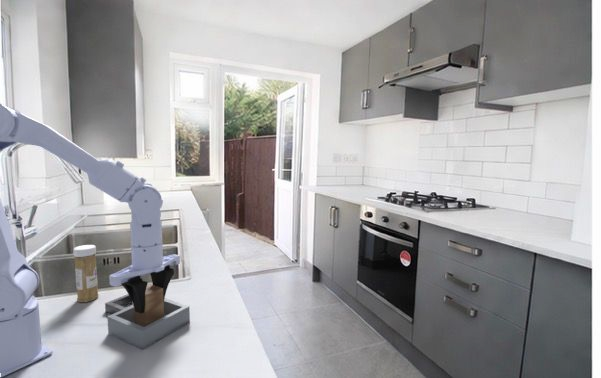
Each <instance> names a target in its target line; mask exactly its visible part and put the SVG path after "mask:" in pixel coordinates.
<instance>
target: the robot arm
mask: <svg viewBox="0 0 601 378" xmlns="http://www.w3.org/2000/svg"><path fill="white" fill-rule="evenodd" d="M18 143H19V144H25V145H31V146H37V147H40V148H42V149H44V150H46V151H48V152H49V153H51V154H52V155H54V156H57V157H58V158H59V159H62V160H63V161H65V162H66V163H68V164H71V166H73V167H75V168H77V169H79V170H80V171H82V172H84V173H86V174H87V176H88V177H87V178H88V182H89V183H88V184H90V185H91V186H93V187H95V188H97V189H98V190H100V191H101V192H103V193H105V194H106V195H108V196H110V197H111V198H113V199H114V200H116V201H118V202H120V203H127V204H128V208H129V209H130V211H131V212H130V213H131V214H130V215H131V221H130V223H129V228H130V247H131V248H130V252H131V255H130V256H131V265H129V266H127V267H125V268H123V269H121V270H119V271H117V272H115V273H112V274H110V275H109V277H108V278H109V280H108V281H109V286H112V287H115V288H118V287H120V286H122V287H123V288H124V289H125V291H126V292H127V294H129V296H130V298H131V300H132V302H131V303H132V305H133V306H134V309H135V312H138V313H144V310H145V292H146V287H147V285H149V283H148V282H147V281H145V280H143V278H141V277H143V276H146V275H150V277H151V283H152V285H155V286H158V287H161V288H163V301H164V298H166V293H167V291H168V287H169V284H170V282H171V280H172V278H173V276H174V275H175V269H174V268H173V267H172V268H171V266H174V265H175V266H177V265H179V264H181V257H180V256H181V255H179V254H170V255H166V256H165V255H163V254H164V253H163V226H162V223H163V222H162V220H161V215H162V212H161V208H162V207H163V202H164V200H163V198H162V196H161V193H160V191H158V190H157V188H156V187H154V186H153V185H152V184H151V183H147V180H146V178H144V177H138V176H137V175H135V174H134V173H133V172H131V171H129V169H128V170H127V169H126V168H125V167H124V166H125V164H124V163H123V162H121V160H118V161H114V160H113V159H110V158H109V159H108V158H107V159H101V160H100V159H98V158H97V157H94V156H93V155H92V154H91V153H89V152H87V151H86V150H84V149H83V148H82V147H80V146H78V145H77V144H76V143H74V142H73V141H71V140H70V139H68V138H67V137H65V136H64V135H63V134H61V133H59V132H58V131H56V130H55V129H54V128H52V127H51V126H50V125H47V124H44V123H43V122H41V121H39V120H36V119H34V118H32V117H30V116H28V115H25V114H23V113H22V112H21V111H19V110H17V109H15V108H13V107H9V106H6V105H4V104H3V103H1V102H0V153H2V151H3V150H6V149H7V148H9V147H11V146H13V145H16V144H18ZM28 263H29V262H28V261H27V258H26V256H25V255H23V254H22V253H21V252H20V251H19V249H18V248H17V244H16V241H15V237H14V234H13V232H12V229H11V226H10V223H9V220H8V218H7V214H6V212H5V208H4V206H3V203H2V200H1V198H0V373H1V378H3V377H6V376H7V375H10V374H12V373H14V372H16V371H19V370H20V369H23V368H25V367H27V366H28V365H30V364H33V363H35V362H37V361H39V360H41V359H43V358H45V357H48V356H50V355H52V354H53V349H51V348H50V347H48V346H46V345H44V344H43V342H42V333H41V332H42V330H41V329H42V328H41V319H40V317H41V316H40V308H39V307H40V306H39V305H40V304H39V300H37V298H36V297H35V296H34V294H33V293H34V292H36V290H37V288H38V287H39V284H40V276H39V274H38V273H37V271H36V270H34V269H33V268H32V267H31V266H30V265H29V264H28Z"/></svg>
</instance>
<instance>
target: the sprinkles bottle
mask: <svg viewBox="0 0 601 378" xmlns="http://www.w3.org/2000/svg"><path fill="white" fill-rule="evenodd" d="M72 251H73V253H72V254H73V257H74V265H75V268H74V272H75V283H76V284H75V285H76V286H75V288H76V293H77V298H76V300H77V302H79V303H88V302H89V303H90V302H92V301H94V300H96V299H97V298H99V295H100V294H99V291H98V289H99V288H98V271H97V270H98V269H97V261H96V260H97V259H96V255H97V254H96V253H97V247H96V245H94V244H85V245H83V244H82V245H79V246H76V247H74V248H73V250H72Z"/></svg>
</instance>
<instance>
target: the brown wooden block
mask: <svg viewBox="0 0 601 378" xmlns="http://www.w3.org/2000/svg"><path fill="white" fill-rule="evenodd" d="M163 317H164V301H163V288H161V287H158V286H155V285H153V283H152V284H147V287H146V292H145V310H144V313H138V312H135V309H134V323H135V324H137V325H140V326H142V327H145V326H147V325H149V324H151V323H153V322H155V321H157V320H159V319H161V318H163Z"/></svg>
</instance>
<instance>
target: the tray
mask: <svg viewBox="0 0 601 378" xmlns="http://www.w3.org/2000/svg"><path fill="white" fill-rule="evenodd" d="M131 305H132V306H131ZM131 305H129V306H130V307H129V306H127V307H128V308H126V307H125V308H126V309H123V310H121V311H119V312H117V313H114V314H110V315H108V316H107V331H108V332H107V333H108V334H109V335H111V336H113V337H114V338H117V339H120V340H122V341H124V342H125V343H127V344H130V345H132V346H134V347H136V348H139V349H141V350H145V349H147V348H149V347H150V346H153V345H154V344H156V343H157V342H159V341H160V340H162V339H164V338H165V337H167V336H170V334H172V333H174V332H176V331H177V330H179V329H180V328H182V327H185V325H188V324H190V322H191V319H190V318H191V317H190V316H191V314H190V305H187V304H184V303H181V302H177V301H175V300H171V299H168V298H166V297H165V298H164V317H163V318H161V319H159V320H157V321H155V322H153V323H151V324H149V325H147V326H145V327H142V326H140V325H137V324H135V323H134V306H133V304H131Z"/></svg>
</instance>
